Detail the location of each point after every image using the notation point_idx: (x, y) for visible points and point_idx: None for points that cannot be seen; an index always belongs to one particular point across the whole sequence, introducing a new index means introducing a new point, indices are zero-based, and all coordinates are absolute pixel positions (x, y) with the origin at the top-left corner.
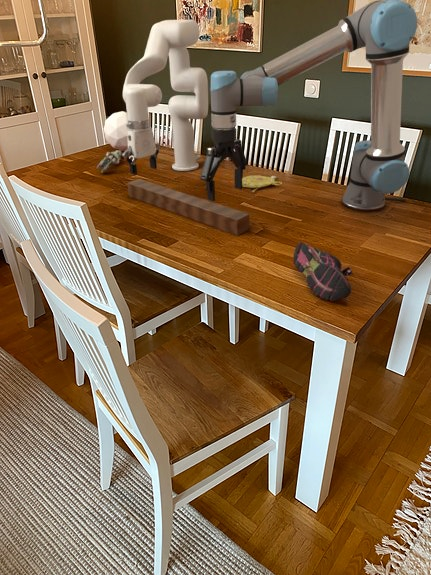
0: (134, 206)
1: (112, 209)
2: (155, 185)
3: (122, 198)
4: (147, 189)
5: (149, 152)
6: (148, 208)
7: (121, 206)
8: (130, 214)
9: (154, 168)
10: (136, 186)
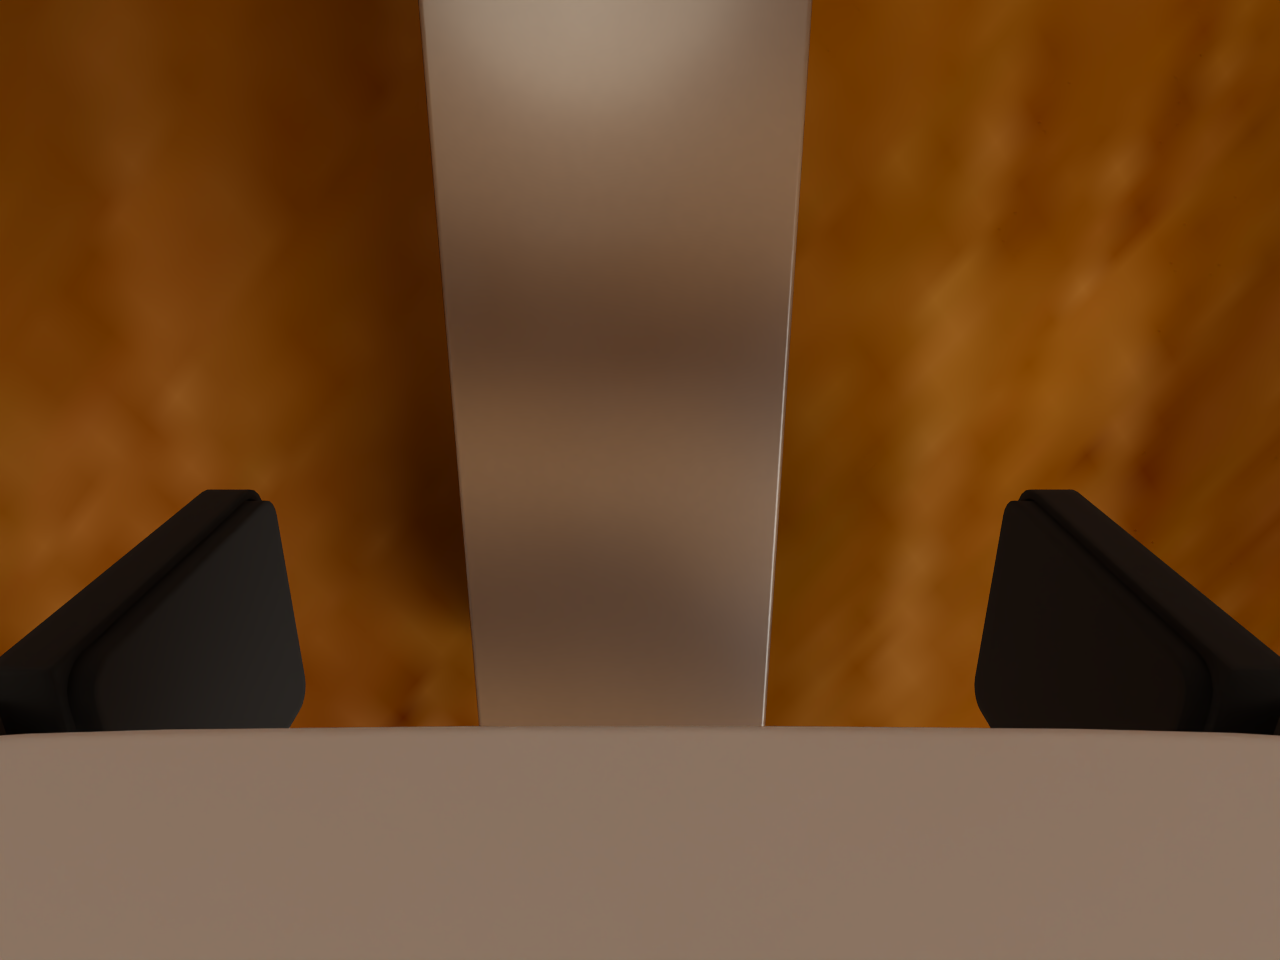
0: (970, 285)
1: (1220, 450)
2: (502, 278)
3: (838, 655)
4: (781, 223)
5: (284, 905)
6: (912, 15)
7: (1070, 440)
8: (1265, 59)
9: (275, 526)
10: (776, 547)
